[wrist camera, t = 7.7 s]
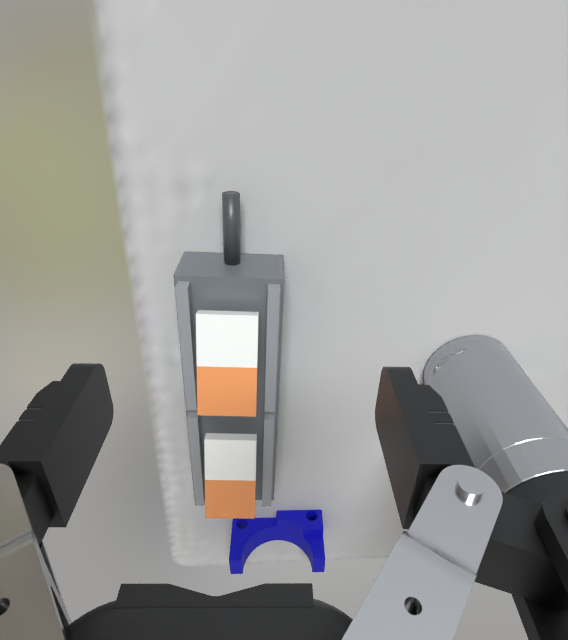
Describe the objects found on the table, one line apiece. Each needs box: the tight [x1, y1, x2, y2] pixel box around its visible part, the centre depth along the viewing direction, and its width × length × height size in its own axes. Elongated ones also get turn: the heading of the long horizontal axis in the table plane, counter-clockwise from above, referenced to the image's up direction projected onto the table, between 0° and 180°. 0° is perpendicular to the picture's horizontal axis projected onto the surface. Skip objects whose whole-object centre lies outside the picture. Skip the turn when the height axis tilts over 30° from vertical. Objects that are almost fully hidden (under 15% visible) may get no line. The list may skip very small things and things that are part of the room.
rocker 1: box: [196, 310, 259, 417], centre depth 38 cm, size 9×5×1 cm, turn 178°
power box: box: [174, 191, 284, 506], centre depth 44 cm, size 34×9×6 cm, turn 178°
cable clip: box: [229, 510, 325, 574], centre depth 59 cm, size 12×4×6 cm, turn 91°
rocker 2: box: [204, 433, 257, 519], centre depth 45 cm, size 9×5×1 cm, turn 178°
